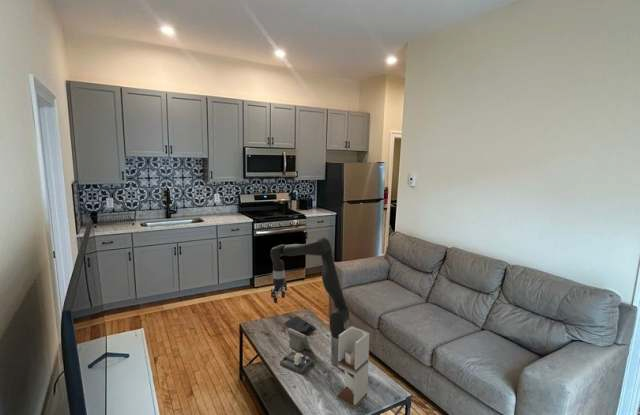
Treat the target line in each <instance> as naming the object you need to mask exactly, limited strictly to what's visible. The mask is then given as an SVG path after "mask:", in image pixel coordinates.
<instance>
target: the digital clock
mask: <svg viewBox="0 0 640 415" xmlns="http://www.w3.org/2000/svg"><path fill="white" fill-rule="evenodd" d="M287 334H288V337H289V340H288V342H289V343H288V344H289V345H288V346H289V348H291V349H294V350H295V351H297V352H299V353H300V352H302V351H303V350H304V349H305V350H308V351H309V350H310V349H311V345H310V342H309V340H308V336H307V334H305V335H304V334H302V333H299V332H297V331H295V330H293V329H291V328H288V327H287Z"/></svg>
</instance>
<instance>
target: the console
mask: <svg viewBox="0 0 640 415" xmlns="http://www.w3.org/2000/svg"><path fill="white" fill-rule="evenodd" d="M297 353H300V352H299V351H297V352H295V351H293V350H292V351H291V352H289V353H288V354H287V355H284V356H283V357H282V359H281V360H280V361H279V365H281V366H282V367H284V368H286V369H290V370H292V371H294V372H296V373H299V374H301V375H304V373H306V372H307V371H308V370H309V368H311V366H313V365H314V363H315V359H314V358H311V357H310V356H309V355H305V354H304V353H301V354H302V362H301V363H300V364H299V365H295V364H294V356H295V355H296V354H297Z"/></svg>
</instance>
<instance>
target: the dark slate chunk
mask: <svg viewBox="0 0 640 415" xmlns="http://www.w3.org/2000/svg"><path fill="white" fill-rule="evenodd" d="M283 324H284V326H286V328H287V329H288V328H291V329H293V330H295V331H297V332H299V333H302V334H304V335H308V334H310V333H312V332H314V331H315V330H316V329H317V328H316V327H315V326H314V325H312V324H311V323H309V322H308V321H306V320H304V319H302V317H300V316H293V317H291V318H289V319H288V320H286V321H285V322H284V323H283Z"/></svg>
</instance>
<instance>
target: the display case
mask: <svg viewBox="0 0 640 415" xmlns="http://www.w3.org/2000/svg"><path fill="white" fill-rule="evenodd" d="M369 358H370V332H367V331H365V330H363V329H360V328H359V327H358V328H357V327H355V326H352V325H351V326H349V327H348V328H346V330H345V331H344V332H343V333H341V334H340V335H339V339H338V366H337V368H339V369H341V370H343V371H344V382H345V385H346V386H345V387H344V388H343V390H341V391H340V392H339V393H338V394H337V398H336V399H337V400H339V401H341V402H342V403H344V404H346V405H347V406H349V407H350V408H352V409H357V408H358V406H359V405H360V404H362V402H363V401H364V400H365V399H366V398H367V397H368V386H369V384H368V383H369V381H368V380H369Z"/></svg>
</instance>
